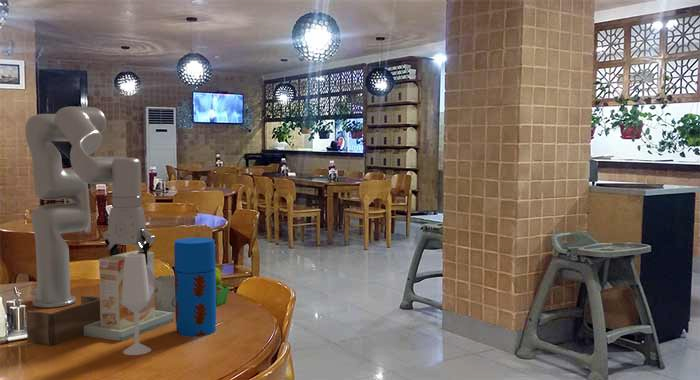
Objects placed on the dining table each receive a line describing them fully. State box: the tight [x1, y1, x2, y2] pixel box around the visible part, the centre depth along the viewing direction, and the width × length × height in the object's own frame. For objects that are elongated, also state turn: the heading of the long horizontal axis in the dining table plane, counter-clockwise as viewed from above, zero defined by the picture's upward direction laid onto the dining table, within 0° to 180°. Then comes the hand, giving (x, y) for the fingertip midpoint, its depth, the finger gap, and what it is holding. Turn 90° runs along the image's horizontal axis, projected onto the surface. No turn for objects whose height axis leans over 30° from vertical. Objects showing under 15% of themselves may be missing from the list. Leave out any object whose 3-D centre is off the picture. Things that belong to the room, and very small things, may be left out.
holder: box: [25, 295, 100, 347], centre depth 180 cm, size 8×19×8 cm, turn 156°
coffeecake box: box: [98, 250, 156, 330], centre depth 186 cm, size 15×7×20 cm, turn 158°
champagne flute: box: [122, 254, 152, 356], centre depth 166 cm, size 7×7×24 cm
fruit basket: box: [215, 266, 231, 307], centre depth 215 cm, size 11×9×11 cm
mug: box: [154, 275, 176, 313], centre depth 205 cm, size 8×13×10 cm, turn 78°
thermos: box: [173, 237, 217, 338], centre depth 183 cm, size 11×11×25 cm
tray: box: [83, 309, 174, 342], centre depth 186 cm, size 13×21×2 cm, turn 156°
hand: (128, 264), depth 185 cm, fingers open, 9 cm apart
